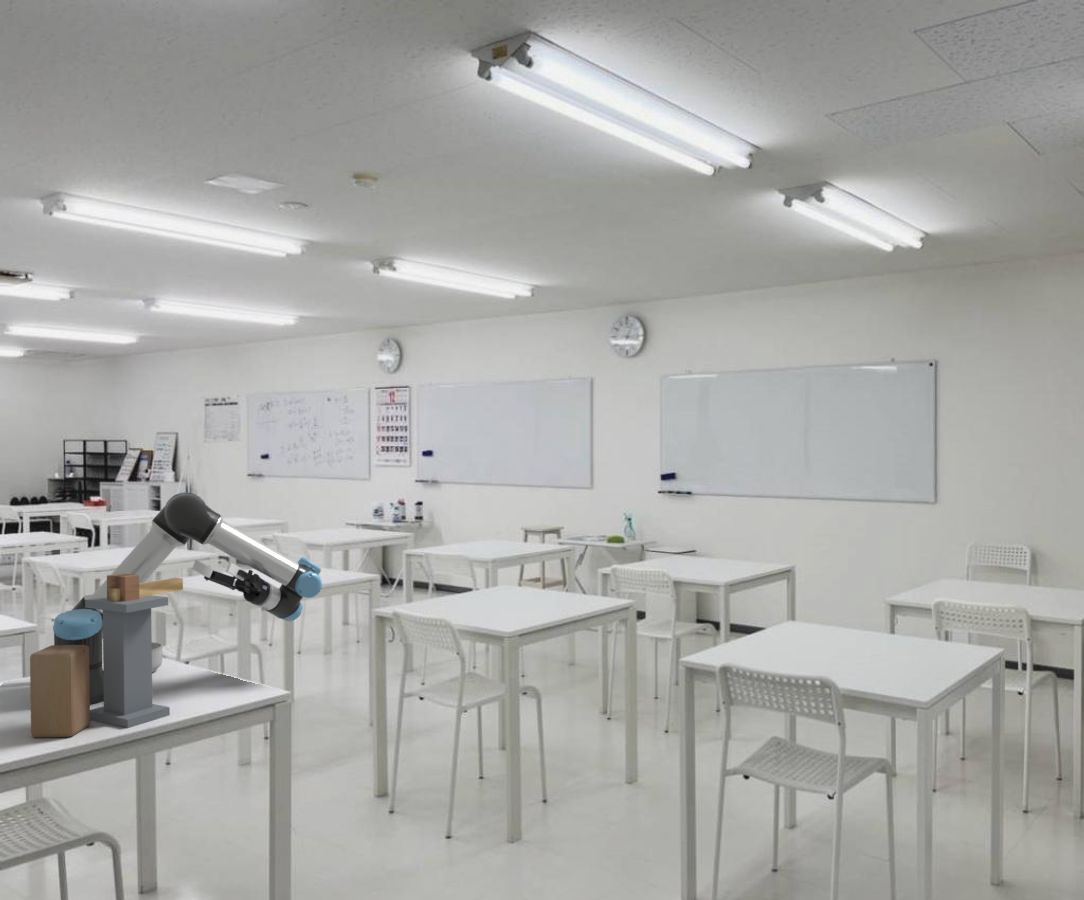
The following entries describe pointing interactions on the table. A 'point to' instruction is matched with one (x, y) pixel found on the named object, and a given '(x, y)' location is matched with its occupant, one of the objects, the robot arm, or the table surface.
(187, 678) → the table surface
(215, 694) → the table surface
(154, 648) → the teacup
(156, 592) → the marking gauge
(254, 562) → the robot arm
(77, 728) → the wooden block
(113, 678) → the tall stand
